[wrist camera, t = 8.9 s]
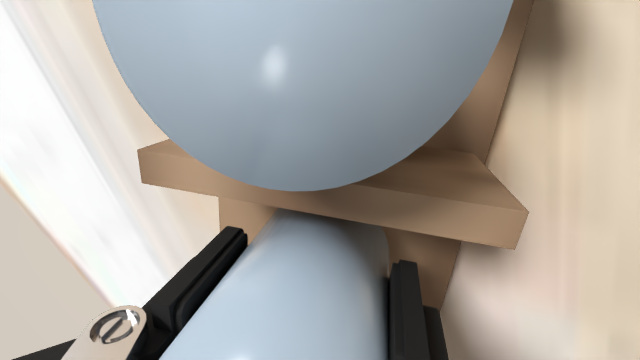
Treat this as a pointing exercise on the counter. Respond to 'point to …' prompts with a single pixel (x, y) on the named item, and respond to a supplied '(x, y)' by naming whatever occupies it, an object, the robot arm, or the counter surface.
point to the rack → (393, 183)
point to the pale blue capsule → (301, 79)
